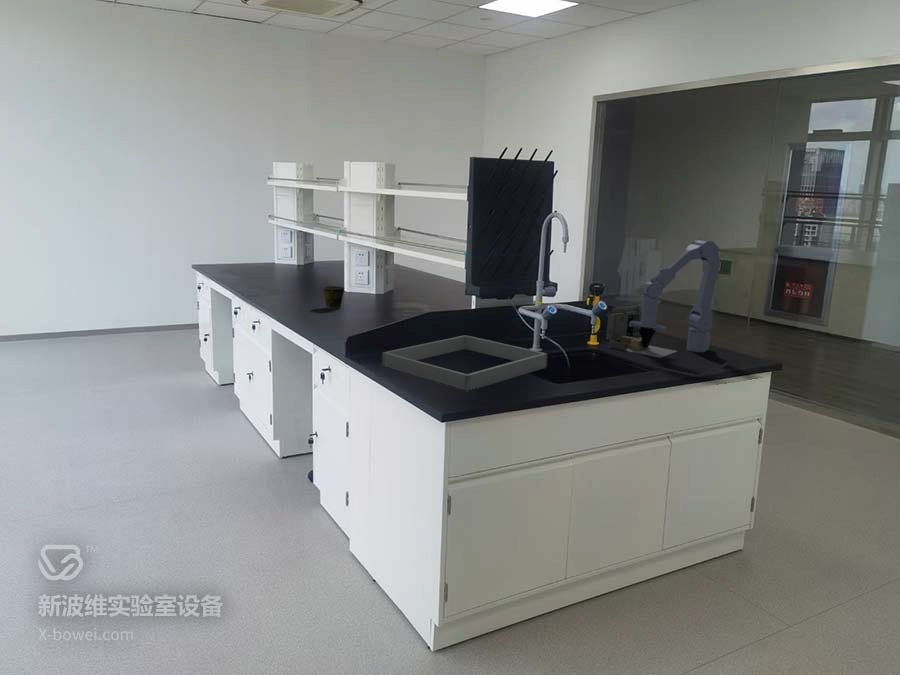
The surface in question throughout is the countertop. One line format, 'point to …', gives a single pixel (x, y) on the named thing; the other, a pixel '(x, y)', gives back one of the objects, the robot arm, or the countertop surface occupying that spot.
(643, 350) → the mat
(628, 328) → the geiger counter
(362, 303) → the countertop surface
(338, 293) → the ceramic cup
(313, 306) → the countertop surface
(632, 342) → the t block
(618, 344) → the bracket
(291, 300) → the countertop surface
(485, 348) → the grey square frame
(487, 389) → the countertop surface
